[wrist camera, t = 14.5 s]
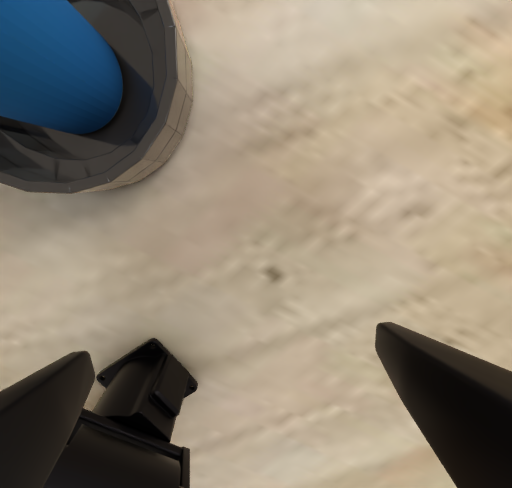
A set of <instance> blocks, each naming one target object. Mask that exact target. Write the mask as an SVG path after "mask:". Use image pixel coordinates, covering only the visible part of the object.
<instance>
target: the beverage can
mask: <svg viewBox="0 0 512 488" xmlns="http://www.w3.org/2000/svg"><path fill="white" fill-rule="evenodd" d="M122 92H123V81H122V74H121V70H120V66H119V63H118V61H117V58H116V56H115V54H114V52H113V50H112V49H111V47H110V46H109V44H108V43H107V42H106V40H105V39H104V38H103V37H102V36H101V35H100V34H99V33H98V32H97V31H96V30H95V29H94V27H93V26H92V25H91V24H90V23H89V22H88V21H87V20H86V19H85V18H84V17H83V16H82V15H81V14H80V13H79V12H78V11H77V10H76V9H75V8H74V7H73V6H72V5H71V4H70V3H69V2H68V1H67V0H0V116H3V117H7V118H10V119H14V120H18V121H22V122H26V123H30V124H34V125H38V126H42V127H46V128H50V129H54V130H58V131H62V132H66V133H71V134H85V133H90V132H93V131H96V130H98V129H100V128H102V127H103V126H105V125H106V124H107V123H108V122H109V121H110V120H111V119H112V118H113V117H114V115H115V114H116V112H117V110H118V108H119V106H120V103H121V99H122Z"/></svg>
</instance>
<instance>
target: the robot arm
mask: <svg viewBox="0 0 512 488" xmlns="http://www.w3.org/2000/svg"><path fill="white" fill-rule="evenodd" d="M151 344H154V345H155V346H152V345H151ZM375 348H376V352H377V354H378V356H379V358H380V360H381V362H382V364H383V366H384V368H385V370H386V372H387V374H388V376H389V378H390V379H391V381H392V383H393V385H394V387H395V389H396V391H397V393H398V395H399V397H400V398H401V400H402V402H403V403H404V405H405V407H406V408H407V410H408V412H409V413H410V415H411V416H412V418H413V419H414V421H415V422H416V424H417V426H418V427H419V429H420V430H421V432H422V433H423V435H424V437H425V438H426V440H427V441H428V443H429V444H430V446H431V448H432V449H433V451H434V452H435V454H436V455H437V457H438V458H439V460H440V462H441V463H442V465H443V466H444V468H445V469H446V471H447V473H448V474H449V476H450V477H451V479H452V480H453V482H454V483H455V485H456V487H457V488H512V372H511V371H509V370H506V369H504V368H501V367H499V366H497V365H494V364H492V363H489V362H487V361H484V360H482V359H480V358H477V357H475V356H472V355H470V354H467V353H465V352H463V351H460V350H458V349H455V348H453V347H451V346H448V345H446V344H443V343H441V342H438V341H436V340H434V339H431V338H429V337H426V336H424V335H421V334H419V333H417V332H414V331H412V330H409V329H407V328H404V327H402V326H400V325H397V324H395V323H392V322H384V323H379V324H378V325H377V328H376V340H375ZM103 376H104V377H103ZM94 379H95V372H94V368H93V364H92V361H91V357H90V354H89V353H88V352H87V351H79V352H72V353H70V354H68V355H66V356H64V357H62V358H61V359H59V360H57V361H55V362H53V363H52V364H50V365H48V366H46V367H44V368H42V369H41V370H39V371H37V372H35V373H33V374H32V375H30V376H28V377H26V378H24V379H22V380H21V381H19V382H17V383H15V384H13V385H12V386H10V387H8V388H6V389H4V390H3V391H1V392H0V488H190V449H188V448H186V447H182V448H181V447H179V446H176V445H174V444H171V443H170V439H171V436H172V432H173V428H174V424H175V420H176V416H178V415H179V413H180V409H181V405H182V401H183V398H185V397H187V396H188V395H190V394H192V393H193V392H195V391H196V390H197V386H198V383H197V382H196V380H195V379H194V378H193V377H192V376H191V375H190V374H189V372H188V371H187V370H186V369H185V368H184V367H183V366H182V365H181V363H180V362H179V361H178V360H177V359H176V358H175V357H174V356H173V355H171V354H170V352H169V351H168V350H167V349H166V348H165V347H164V346H163V345H162V344H161V343H160V342H159V341H158V340H157V339H155V338H152V339H150V340H148V341H147V342H145V343H143V344H142V345H140V346H139V347H137V348H136V349H134V350H133V351H131V352H130V353H128V354H127V355H125V356H123V357H122V358H120V359H119V360H117V361H116V362H114V363H113V364H111V365H110V366H108V367H106V368H105V369H103V370H102V371H100V372H99V374H98V375H97V380H98V382H100V383H101V384H102V385H103V386H104V387H105V388H106V390H105V392H104V393H103V395H102V397H101V398H100V400H99V401H98V403H97V405H96V406H95V408H94V409H93V411H92V412H91V411H88V410H86V409H83V406H84V404H85V401H86V399H87V397H88V394H89V392H90V390H91V387H92V385H93V383H94ZM191 386H193V387H191Z"/></svg>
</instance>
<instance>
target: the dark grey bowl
mask: <svg viewBox="0 0 512 488" xmlns="http://www.w3.org/2000/svg"><path fill="white" fill-rule="evenodd" d="M67 1H68V2H69V3H70V4H71V5H72V6H73V7H74V8H75V9H76V10H77V11H78V12H79V13H80V14H81V15H82V16H83V17H84V18H85V19H86V20H87V21H88V22H89V23H90V24H91V25H92V26H93V27H94V29H95V30H96V31H97V32H98V33H99V34H100V35H101V36H102V37H103V38H104V39H105V40H106V42H107V43H108V44H109V46H110V47H111V49H112V50H113V52H114V54H115V56H116V58H117V61H118V63H119V66H120V70H121V74H122V81H123V92H122V99H121V103H120V106H119V108H118V110H117V112H116V114H115V115H114V117H113V118H112V119H111V120H110V121H109V122H108V123H107V124H106V125H105V126H103V127H102V128H100V129H98V130H96V131H93V132H90V133H85V134H71V133H66V132H62V131H58V130H54V129H50V128H46V127H42V126H38V125H34V124H30V123H26V122H22V121H18V120H14V119H10V118H7V117H3V116H0V183H2V184H5V185H8V186H11V187H14V188H18V189H21V190H24V191H27V192H40V193H67V194H72V193H82V192H92V191H102V190H111V189H114V188H118V187H121V186H125V185H128V184H132V183H135V182H139V181H141V180H142V179H144V178H145V177H146V176H148V175H149V174H150V173H152V172H153V171H155V170H156V169H157V168H159V167H160V166H162V165H163V164H164V163H165V162H166V161H167V159H168V158H169V156H170V155H171V153H172V152H173V150H174V149H175V148H176V146H177V145H178V143H179V142H180V140H181V139H182V137H183V135H184V132H185V128H186V125H187V121H188V117H189V114H190V110H191V107H192V102H193V90H192V63H191V59H190V56H189V53H188V49H187V46H186V43H185V39H184V36H183V33H182V30H181V26H180V23H179V21H178V18H177V16H176V13H175V11H174V8H173V5H172V3H171V0H67Z"/></svg>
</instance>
